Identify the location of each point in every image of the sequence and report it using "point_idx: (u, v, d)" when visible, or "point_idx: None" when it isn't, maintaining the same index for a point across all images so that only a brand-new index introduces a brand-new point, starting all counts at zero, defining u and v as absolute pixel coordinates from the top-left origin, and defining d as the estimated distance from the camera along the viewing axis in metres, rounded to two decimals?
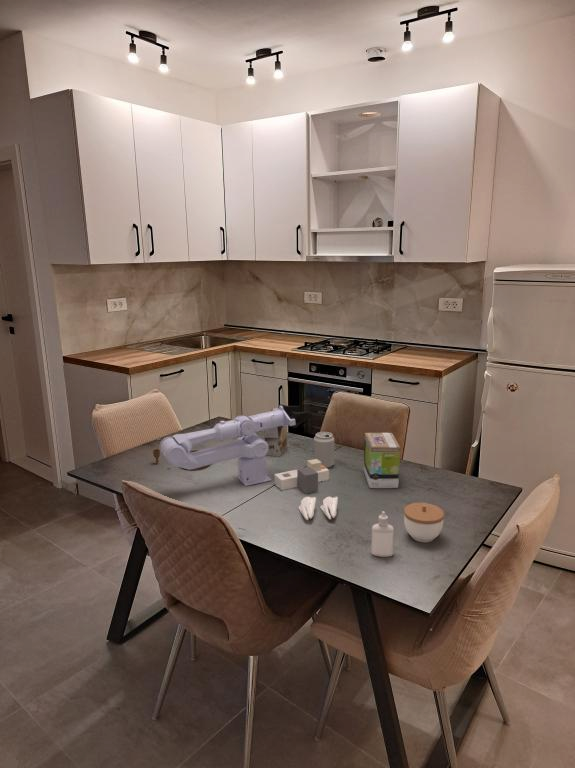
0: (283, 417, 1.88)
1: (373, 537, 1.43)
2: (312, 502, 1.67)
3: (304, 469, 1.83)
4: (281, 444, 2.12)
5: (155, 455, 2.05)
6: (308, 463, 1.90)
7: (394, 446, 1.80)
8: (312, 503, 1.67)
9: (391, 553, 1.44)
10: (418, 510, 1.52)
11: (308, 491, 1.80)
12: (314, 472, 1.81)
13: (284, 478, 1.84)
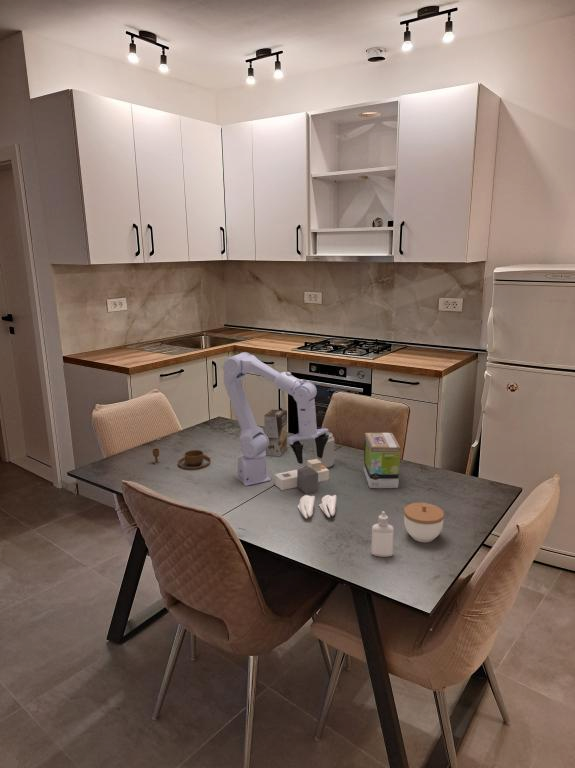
0: (302, 434, 1.77)
1: (373, 537, 1.43)
2: (311, 500, 1.68)
3: (304, 469, 1.83)
4: (281, 444, 2.12)
5: (154, 454, 2.05)
6: (308, 463, 1.90)
7: (394, 447, 1.80)
8: (311, 501, 1.68)
9: (391, 553, 1.44)
10: (418, 510, 1.52)
11: (308, 491, 1.80)
12: (314, 472, 1.81)
13: (284, 478, 1.84)
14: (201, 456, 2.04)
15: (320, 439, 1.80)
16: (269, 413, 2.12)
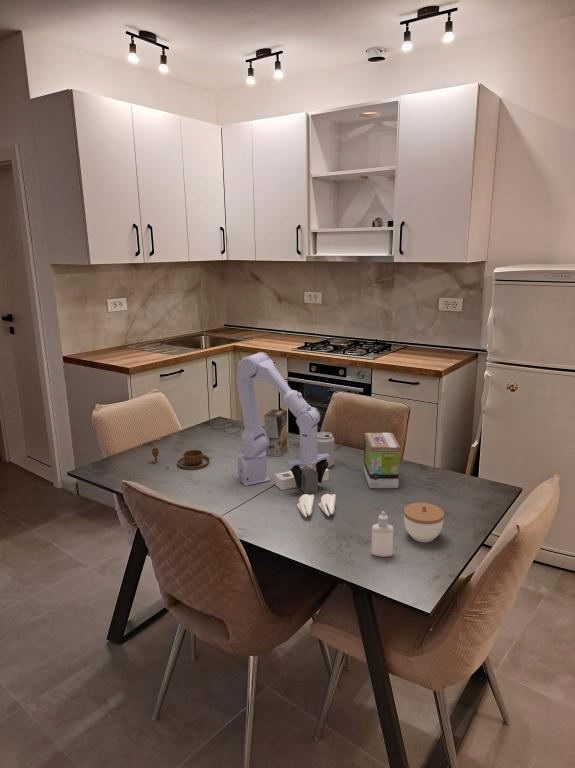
0: (302, 459, 1.78)
1: (373, 537, 1.43)
2: (310, 499, 1.69)
3: (304, 469, 1.83)
4: (281, 444, 2.12)
5: (154, 454, 2.06)
6: None
7: (394, 447, 1.80)
8: (310, 500, 1.69)
9: (391, 553, 1.44)
10: (418, 510, 1.52)
11: (308, 491, 1.80)
12: (314, 472, 1.81)
13: (284, 478, 1.84)
14: (200, 456, 2.04)
15: (320, 464, 1.81)
16: (269, 413, 2.12)
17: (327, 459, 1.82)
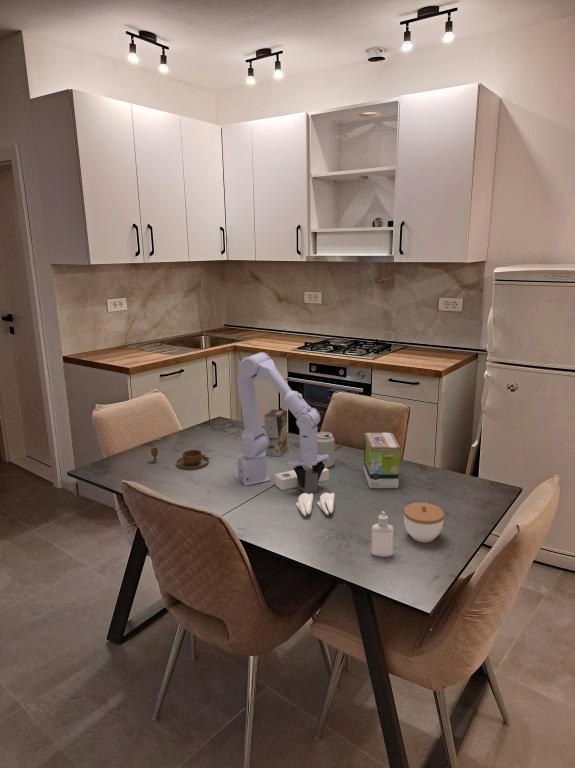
0: (302, 460, 1.78)
1: (373, 537, 1.43)
2: (309, 498, 1.70)
3: (304, 469, 1.83)
4: (281, 444, 2.12)
5: (153, 454, 2.06)
6: None
7: (394, 447, 1.80)
8: (309, 499, 1.69)
9: (391, 553, 1.44)
10: (418, 510, 1.52)
11: (308, 491, 1.80)
12: (314, 472, 1.81)
13: (284, 478, 1.84)
14: (199, 456, 2.04)
15: (317, 466, 1.81)
16: (269, 413, 2.12)
17: (327, 460, 1.83)
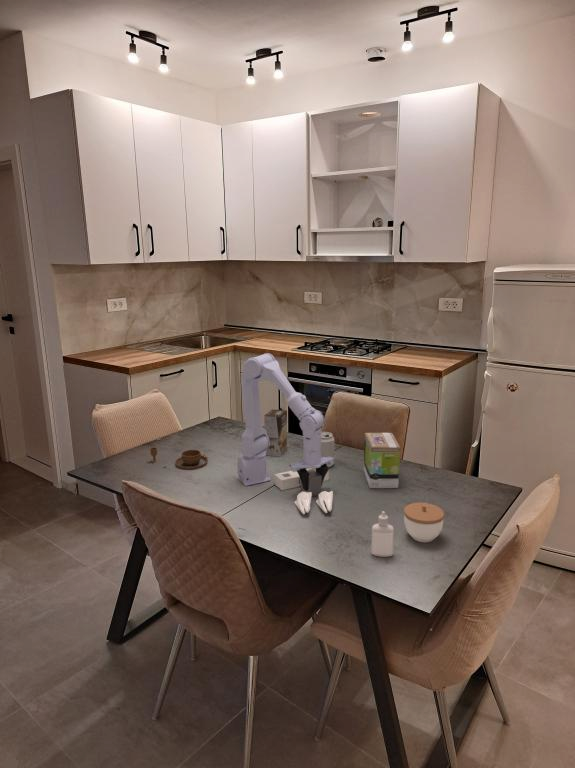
0: (306, 463, 1.76)
1: (373, 537, 1.43)
2: (308, 497, 1.71)
3: None
4: (281, 444, 2.12)
5: (152, 453, 2.06)
6: None
7: (394, 447, 1.80)
8: (308, 498, 1.70)
9: (391, 553, 1.44)
10: (418, 510, 1.52)
11: (312, 494, 1.78)
12: (318, 475, 1.79)
13: (284, 478, 1.84)
14: (198, 456, 2.04)
15: (320, 469, 1.79)
16: (269, 413, 2.12)
17: (331, 463, 1.80)
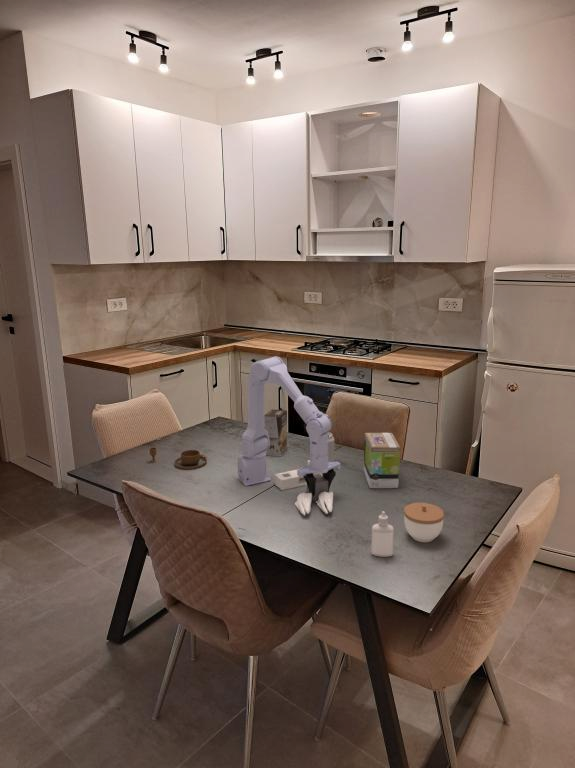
0: (312, 468, 1.72)
1: (373, 537, 1.43)
2: (308, 498, 1.70)
3: (314, 476, 1.78)
4: (281, 444, 2.12)
5: (151, 453, 2.07)
6: (308, 463, 1.90)
7: (394, 447, 1.80)
8: (308, 499, 1.70)
9: (391, 553, 1.44)
10: (418, 510, 1.52)
11: (318, 499, 1.75)
12: (324, 480, 1.75)
13: (284, 478, 1.84)
14: (197, 456, 2.04)
15: (327, 474, 1.75)
16: (269, 413, 2.12)
17: (338, 467, 1.76)
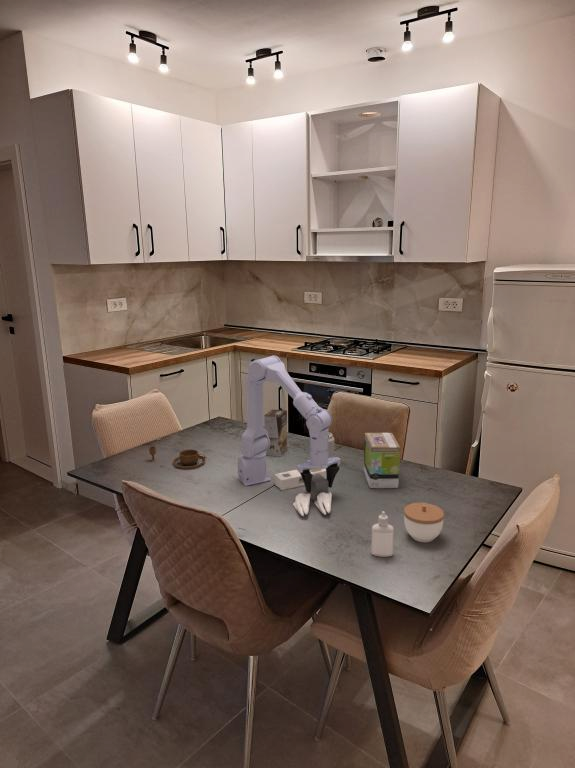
0: (312, 463, 1.72)
1: (373, 537, 1.43)
2: (307, 498, 1.70)
3: (314, 476, 1.78)
4: (281, 444, 2.12)
5: (151, 452, 2.08)
6: None
7: (394, 446, 1.80)
8: (307, 499, 1.69)
9: (391, 553, 1.44)
10: (418, 510, 1.52)
11: None
12: (324, 480, 1.75)
13: (284, 478, 1.84)
14: (195, 456, 2.04)
15: (331, 469, 1.75)
16: (269, 413, 2.12)
17: (338, 463, 1.76)
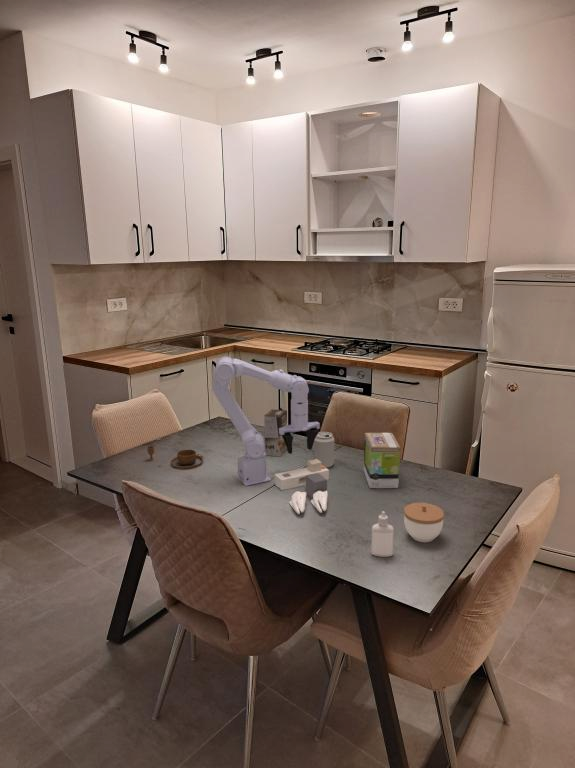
0: (293, 426, 1.86)
1: (373, 537, 1.43)
2: (303, 496, 1.71)
3: (313, 475, 1.78)
4: (281, 444, 2.12)
5: (149, 452, 2.08)
6: (308, 463, 1.90)
7: (394, 447, 1.80)
8: (303, 497, 1.71)
9: (391, 553, 1.44)
10: (418, 510, 1.52)
11: None
12: (323, 479, 1.76)
13: (284, 478, 1.84)
14: (193, 456, 2.04)
15: (311, 432, 1.89)
16: (269, 413, 2.12)
17: (317, 427, 1.90)
